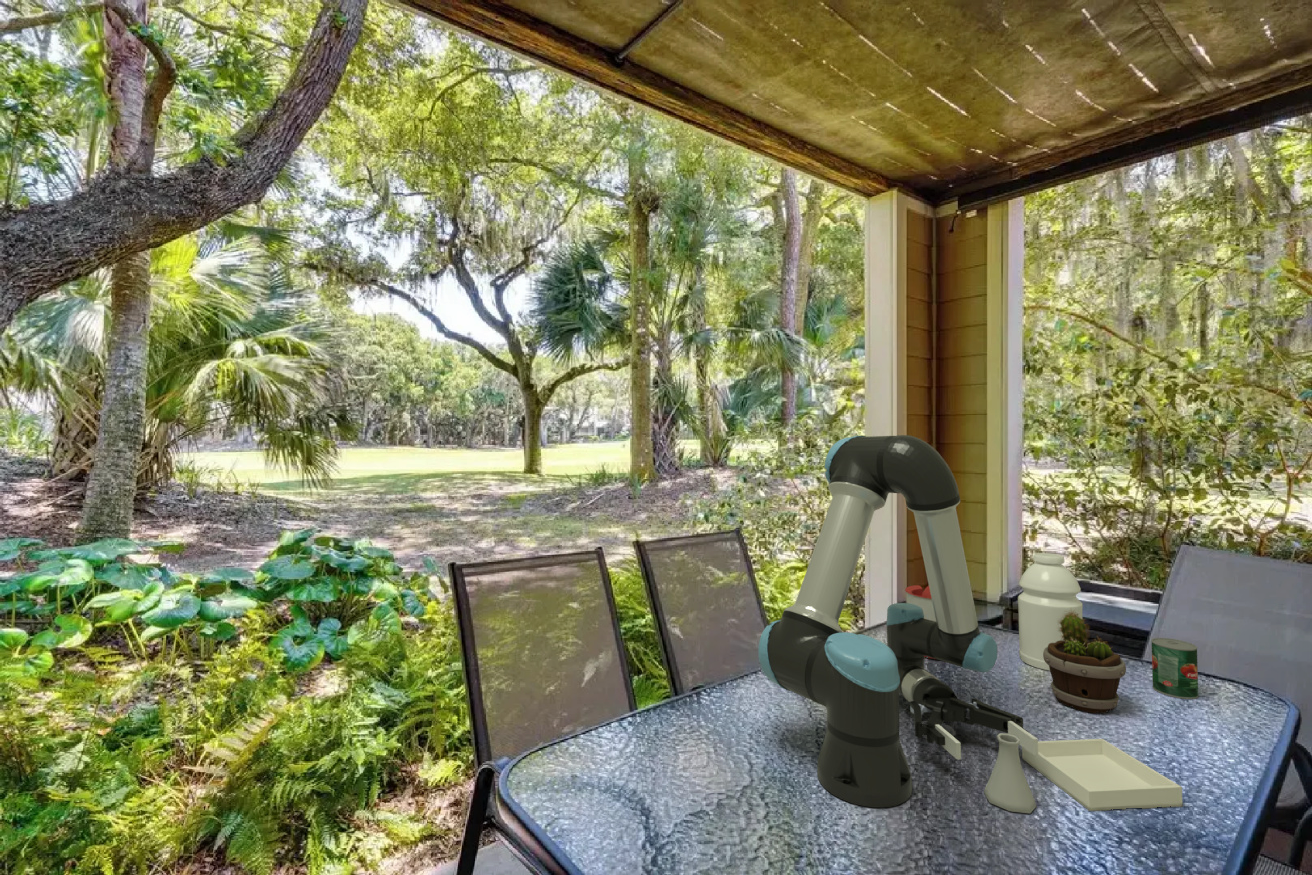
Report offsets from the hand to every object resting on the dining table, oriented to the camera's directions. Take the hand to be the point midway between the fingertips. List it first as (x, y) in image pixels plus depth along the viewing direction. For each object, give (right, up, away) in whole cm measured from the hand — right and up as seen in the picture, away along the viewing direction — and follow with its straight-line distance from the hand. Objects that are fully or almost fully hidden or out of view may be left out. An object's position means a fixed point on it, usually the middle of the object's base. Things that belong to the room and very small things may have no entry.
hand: (997, 749), depth 98 cm
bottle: (+45, -6, +53) cm, 70 cm away
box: (+17, -6, 0) cm, 18 cm away
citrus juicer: (+19, -7, +62) cm, 65 cm away
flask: (-1, -6, -5) cm, 8 cm away
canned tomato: (+61, -6, +35) cm, 71 cm away
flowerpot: (+36, -6, +30) cm, 47 cm away
